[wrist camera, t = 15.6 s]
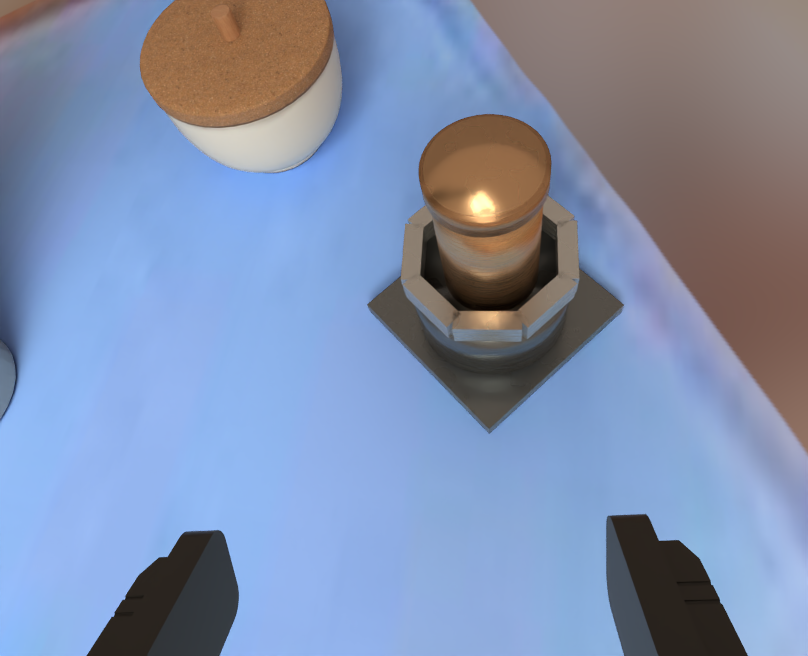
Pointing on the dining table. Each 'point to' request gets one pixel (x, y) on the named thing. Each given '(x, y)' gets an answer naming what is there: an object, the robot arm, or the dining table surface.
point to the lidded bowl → (246, 78)
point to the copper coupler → (487, 207)
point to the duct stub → (495, 320)
